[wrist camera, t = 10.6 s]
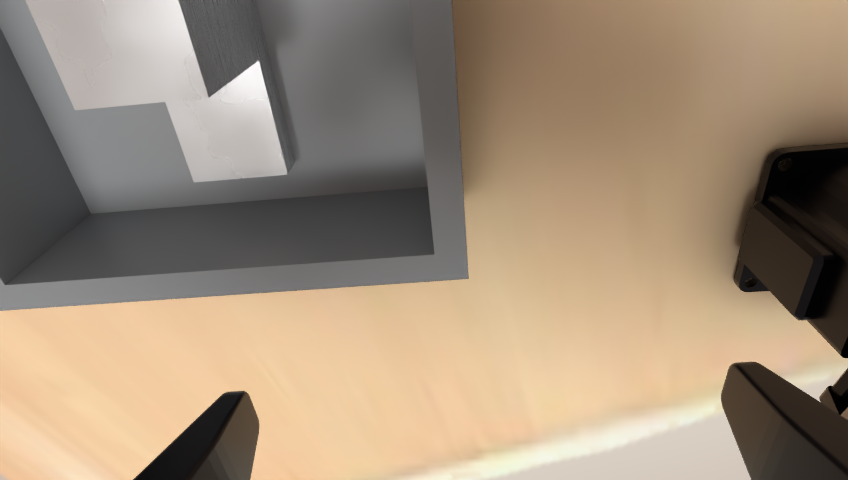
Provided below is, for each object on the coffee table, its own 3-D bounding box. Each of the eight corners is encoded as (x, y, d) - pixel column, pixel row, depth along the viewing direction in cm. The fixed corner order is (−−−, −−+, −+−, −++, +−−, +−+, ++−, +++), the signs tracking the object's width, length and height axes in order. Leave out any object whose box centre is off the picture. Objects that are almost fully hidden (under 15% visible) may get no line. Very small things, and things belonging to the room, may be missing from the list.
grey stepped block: (236, -86, 15) (149, -93, 11) (295, 161, 20) (252, 235, 15) (124, -73, 16) (-9, -74, 11) (206, 169, 20) (135, 244, 15)
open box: (427, -318, 13) (424, -454, 9) (460, 200, 21) (468, 278, 16) (-147, -238, 14) (-435, -320, 10) (86, 229, 22) (-9, 311, 17)
